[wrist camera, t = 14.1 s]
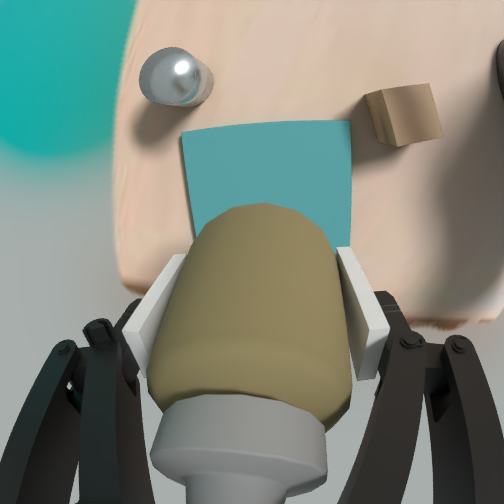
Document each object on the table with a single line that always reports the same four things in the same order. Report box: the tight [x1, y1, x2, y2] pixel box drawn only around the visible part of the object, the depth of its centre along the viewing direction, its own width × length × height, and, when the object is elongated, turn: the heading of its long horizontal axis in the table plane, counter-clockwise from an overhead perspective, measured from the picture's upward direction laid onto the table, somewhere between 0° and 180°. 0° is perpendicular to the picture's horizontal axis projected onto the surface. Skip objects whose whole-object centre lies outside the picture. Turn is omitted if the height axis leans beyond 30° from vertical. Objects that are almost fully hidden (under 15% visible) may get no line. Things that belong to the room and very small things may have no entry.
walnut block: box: [365, 83, 443, 147], centre depth 21 cm, size 5×5×5 cm
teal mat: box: [181, 121, 352, 255], centre depth 28 cm, size 16×16×1 cm
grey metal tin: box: [139, 47, 214, 107], centre depth 21 cm, size 5×5×6 cm
